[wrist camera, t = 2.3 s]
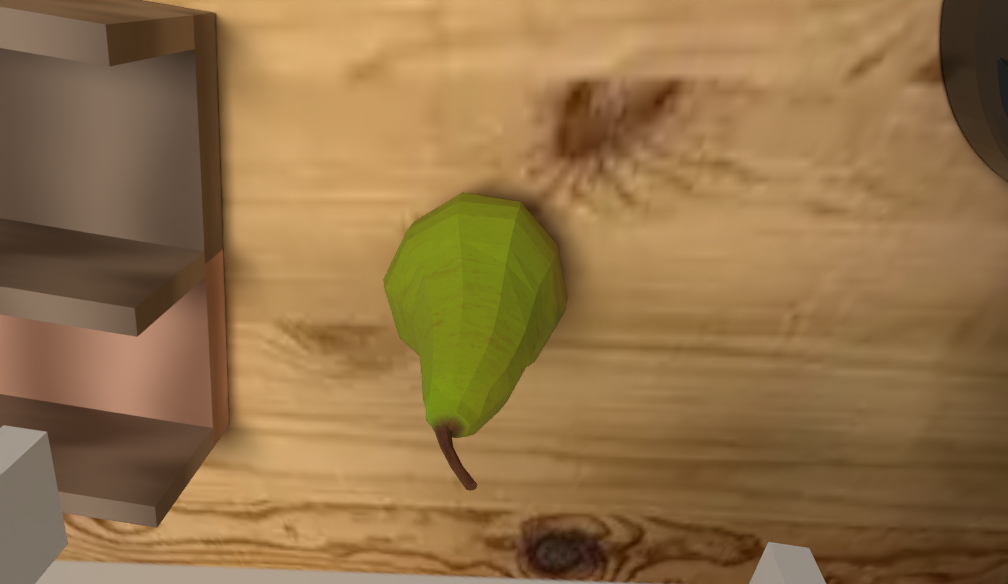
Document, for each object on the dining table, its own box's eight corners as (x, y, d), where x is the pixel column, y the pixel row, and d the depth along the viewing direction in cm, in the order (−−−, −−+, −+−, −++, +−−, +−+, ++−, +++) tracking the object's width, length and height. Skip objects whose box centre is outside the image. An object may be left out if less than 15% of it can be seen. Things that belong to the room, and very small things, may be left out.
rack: (214, 12, 22) (105, 24, 16) (229, 425, 29) (157, 527, 24) (-151, -51, 21) (-385, -60, 16) (-43, 381, 29) (-179, 474, 23)
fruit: (407, 162, 23) (291, 320, 13) (579, 185, 24) (609, 361, 13) (399, 319, 26) (298, 557, 15) (553, 338, 26) (559, 591, 15)
